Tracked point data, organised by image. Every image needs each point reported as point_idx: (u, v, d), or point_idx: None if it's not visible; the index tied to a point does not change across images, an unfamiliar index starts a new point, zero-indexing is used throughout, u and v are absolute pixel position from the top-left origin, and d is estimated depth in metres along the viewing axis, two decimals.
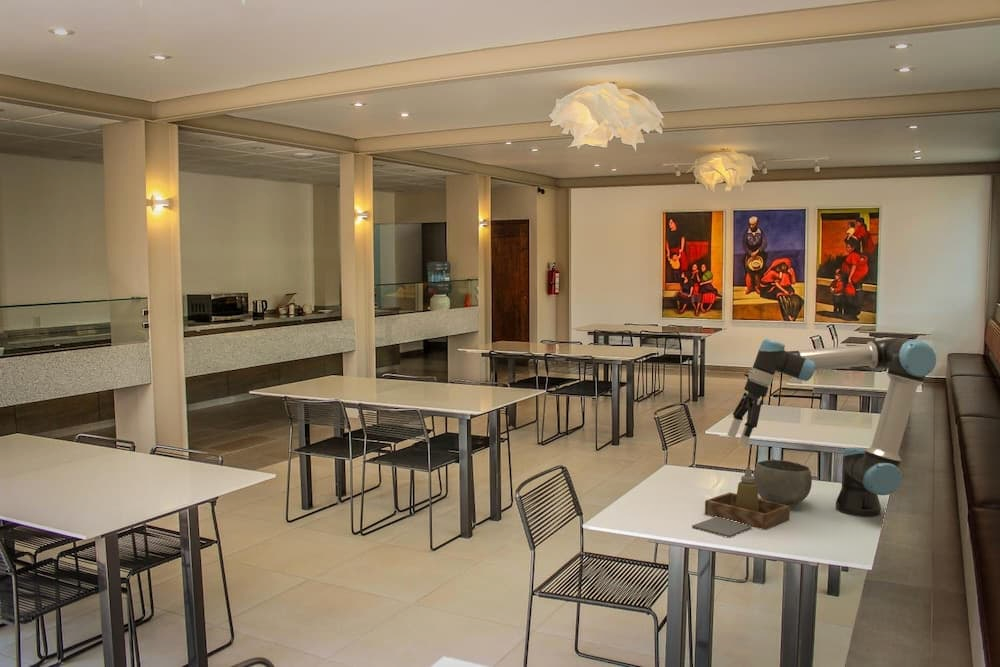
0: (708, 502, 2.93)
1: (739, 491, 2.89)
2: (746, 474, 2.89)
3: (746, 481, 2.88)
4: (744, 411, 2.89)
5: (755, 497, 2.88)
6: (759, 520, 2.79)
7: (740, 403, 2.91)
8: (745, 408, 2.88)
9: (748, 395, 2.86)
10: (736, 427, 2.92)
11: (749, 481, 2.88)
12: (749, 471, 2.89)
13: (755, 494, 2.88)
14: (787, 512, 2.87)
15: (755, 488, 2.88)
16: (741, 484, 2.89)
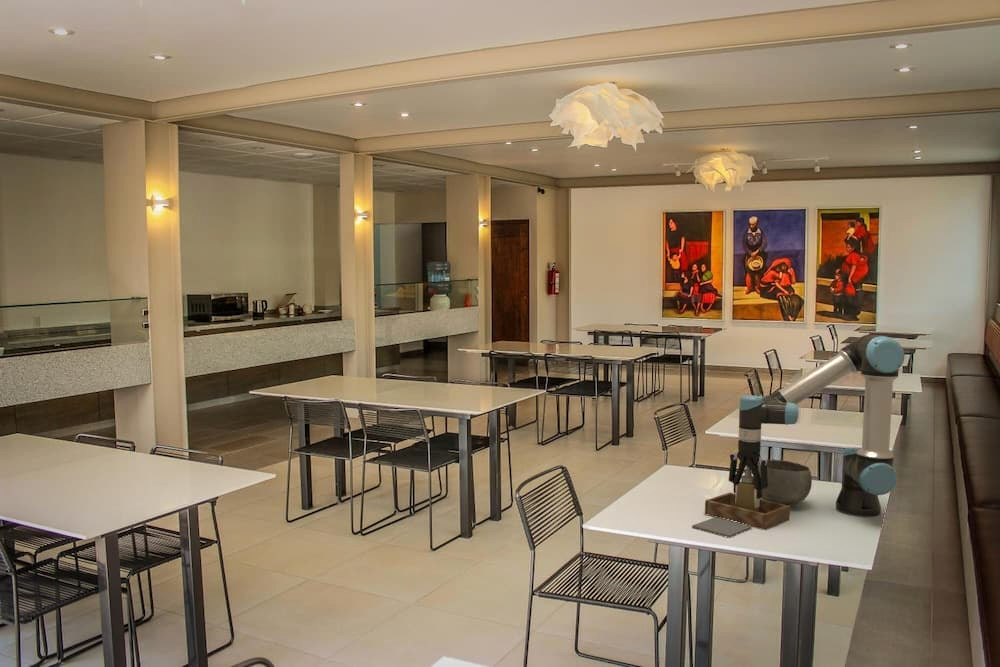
0: (708, 502, 2.93)
1: (739, 491, 2.89)
2: (746, 474, 2.89)
3: (746, 481, 2.88)
4: (742, 471, 2.92)
5: None
6: (759, 520, 2.79)
7: (733, 466, 2.93)
8: (743, 468, 2.91)
9: (741, 453, 2.90)
10: None
11: (749, 481, 2.88)
12: (749, 471, 2.89)
13: None
14: (787, 512, 2.87)
15: None
16: (741, 484, 2.89)
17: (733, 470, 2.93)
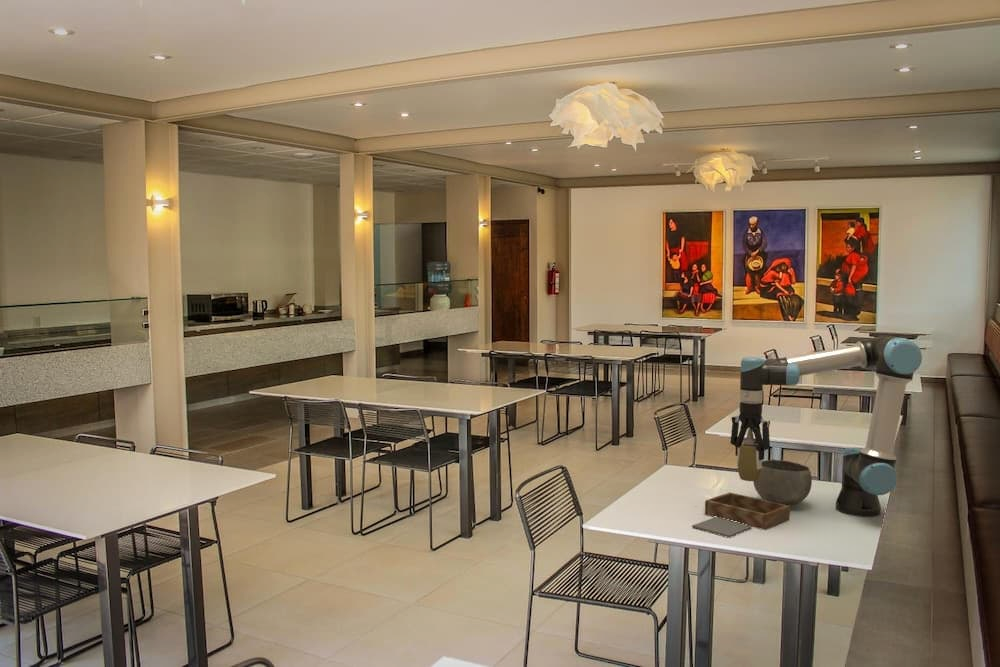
0: (708, 502, 2.93)
1: (741, 453, 2.88)
2: (748, 436, 2.88)
3: (748, 443, 2.87)
4: (744, 434, 2.91)
5: None
6: (759, 520, 2.79)
7: (735, 429, 2.92)
8: (745, 430, 2.90)
9: (743, 415, 2.89)
10: None
11: (751, 443, 2.87)
12: (751, 433, 2.88)
13: None
14: (787, 512, 2.87)
15: None
16: (743, 446, 2.88)
17: (735, 433, 2.92)
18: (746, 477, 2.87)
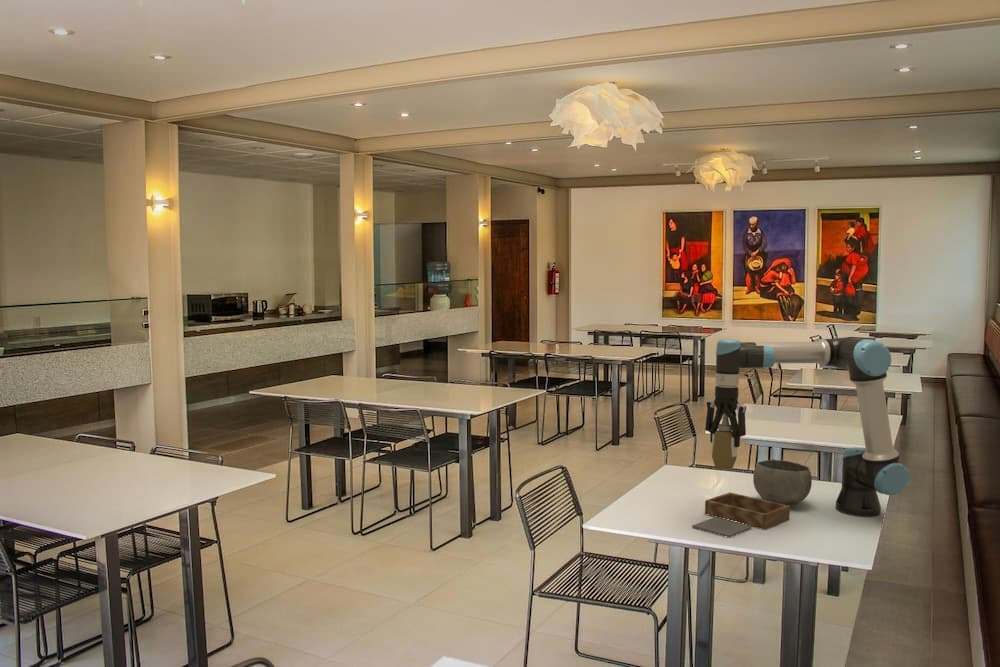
0: (708, 502, 2.93)
1: (716, 440, 2.75)
2: (723, 422, 2.75)
3: (723, 429, 2.74)
4: (719, 420, 2.77)
5: None
6: (759, 520, 2.79)
7: (710, 414, 2.78)
8: (720, 416, 2.77)
9: (718, 400, 2.76)
10: None
11: (726, 429, 2.73)
12: (726, 419, 2.74)
13: None
14: (787, 512, 2.87)
15: (732, 436, 2.73)
16: (718, 432, 2.74)
17: (710, 418, 2.79)
18: (720, 465, 2.74)
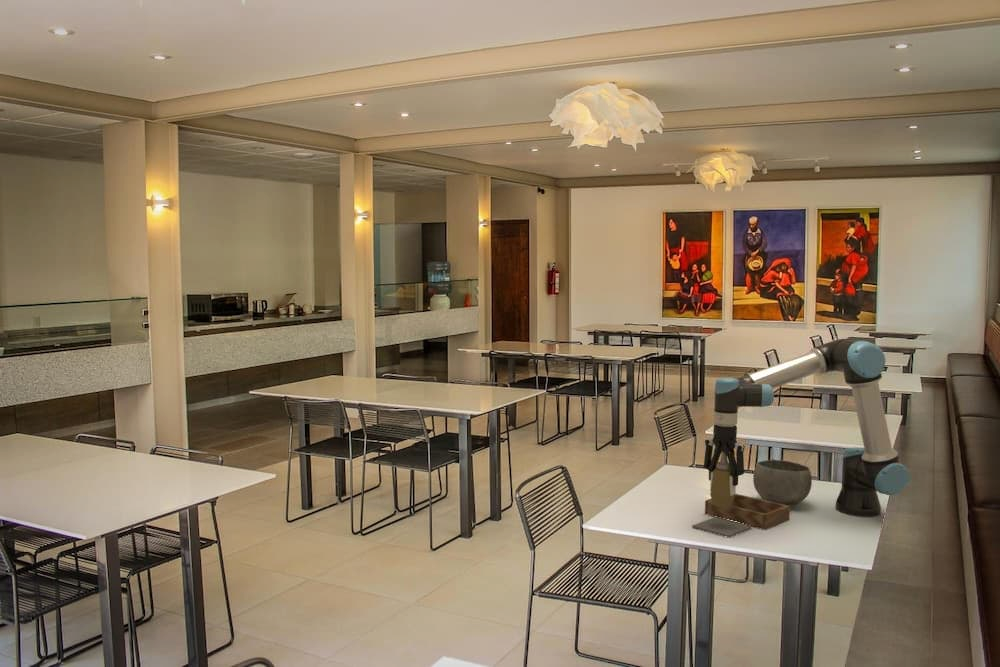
0: (708, 502, 2.93)
1: (714, 478, 2.75)
2: (722, 460, 2.75)
3: (721, 467, 2.74)
4: (717, 458, 2.78)
5: None
6: (759, 520, 2.79)
7: (708, 452, 2.79)
8: (718, 454, 2.78)
9: (717, 438, 2.76)
10: None
11: (725, 467, 2.74)
12: (725, 457, 2.75)
13: None
14: (787, 512, 2.87)
15: None
16: (716, 471, 2.75)
17: (708, 456, 2.80)
18: (719, 503, 2.74)
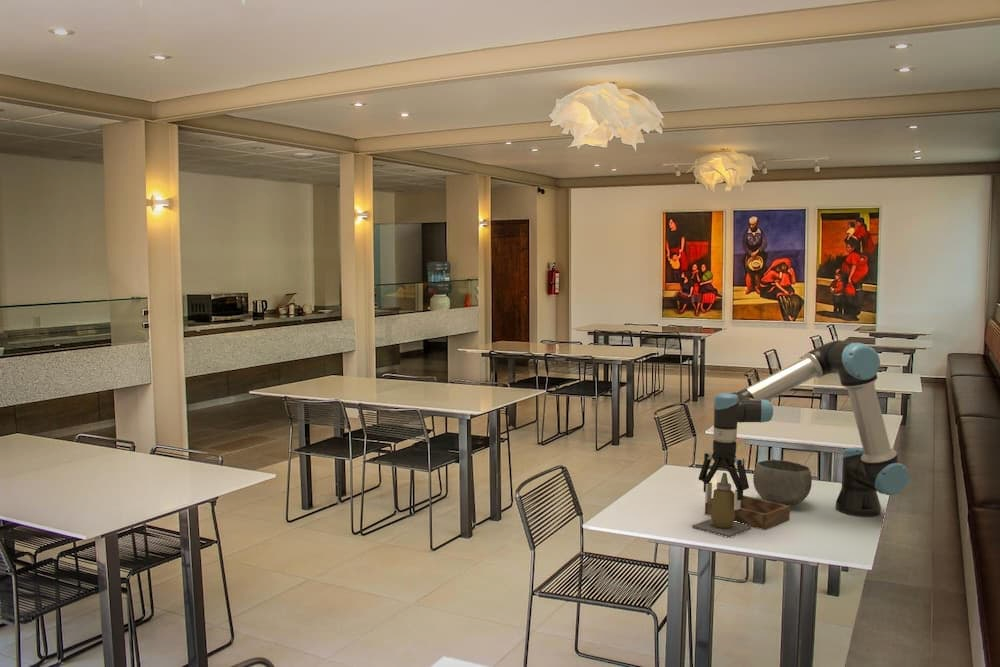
0: None
1: (714, 498, 2.76)
2: (722, 481, 2.76)
3: (722, 488, 2.75)
4: (714, 471, 2.79)
5: (731, 505, 2.74)
6: (759, 520, 2.79)
7: (705, 465, 2.80)
8: (716, 468, 2.79)
9: (717, 454, 2.77)
10: (710, 491, 2.81)
11: (725, 488, 2.75)
12: (725, 478, 2.76)
13: (731, 502, 2.74)
14: (787, 512, 2.87)
15: (731, 496, 2.74)
16: (716, 491, 2.76)
17: (705, 469, 2.81)
18: (719, 524, 2.75)
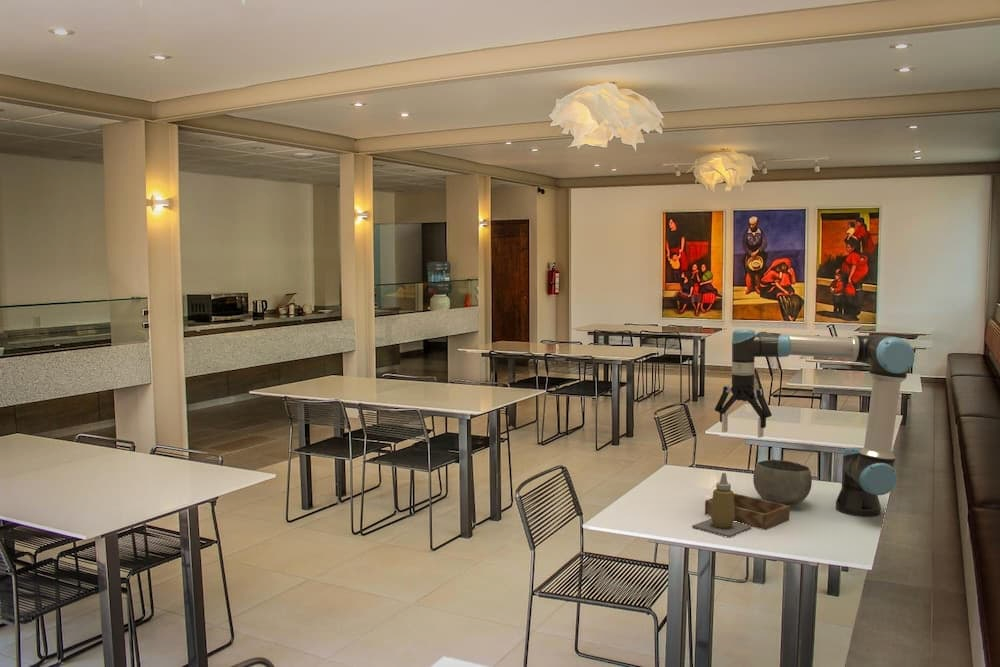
0: (708, 502, 2.93)
1: (714, 499, 2.76)
2: (721, 481, 2.76)
3: (721, 488, 2.75)
4: (731, 403, 2.91)
5: (730, 505, 2.74)
6: (759, 520, 2.79)
7: (723, 398, 2.92)
8: (733, 401, 2.91)
9: (736, 388, 2.88)
10: (726, 421, 2.94)
11: (724, 488, 2.75)
12: (724, 478, 2.76)
13: (730, 502, 2.74)
14: (787, 512, 2.87)
15: (730, 496, 2.74)
16: (716, 491, 2.76)
17: (722, 401, 2.93)
18: (719, 524, 2.75)
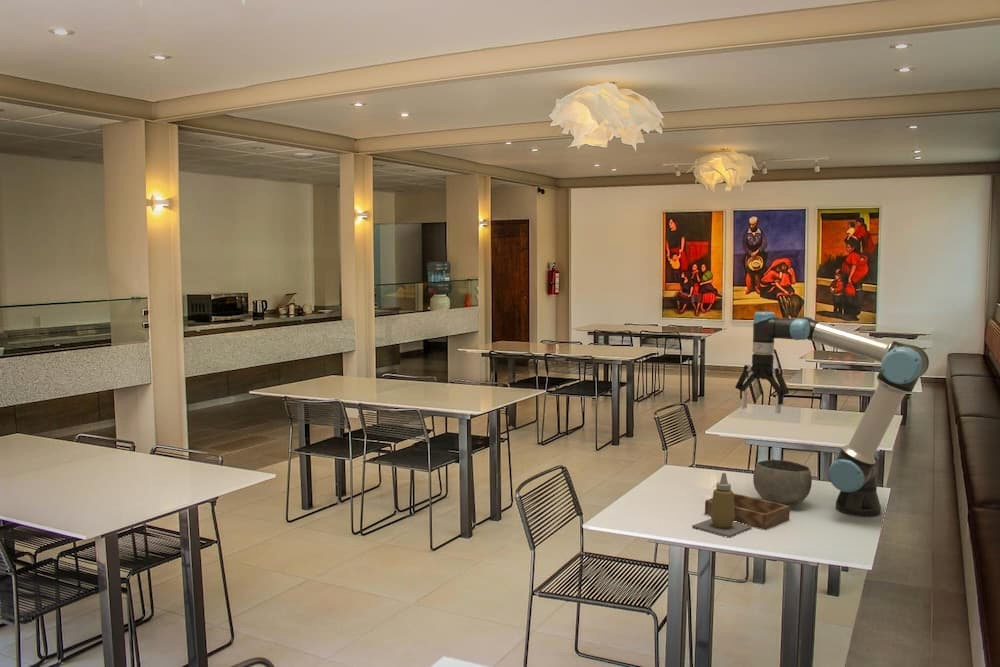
0: (708, 502, 2.93)
1: (714, 499, 2.76)
2: (721, 481, 2.76)
3: (721, 488, 2.75)
4: (751, 381, 3.10)
5: (730, 505, 2.74)
6: (759, 520, 2.79)
7: (744, 376, 3.10)
8: (753, 379, 3.09)
9: (756, 367, 3.07)
10: (746, 398, 3.12)
11: (724, 488, 2.75)
12: (724, 478, 2.76)
13: (730, 502, 2.74)
14: (787, 512, 2.87)
15: (730, 496, 2.74)
16: (716, 491, 2.76)
17: (742, 379, 3.11)
18: (719, 524, 2.75)
